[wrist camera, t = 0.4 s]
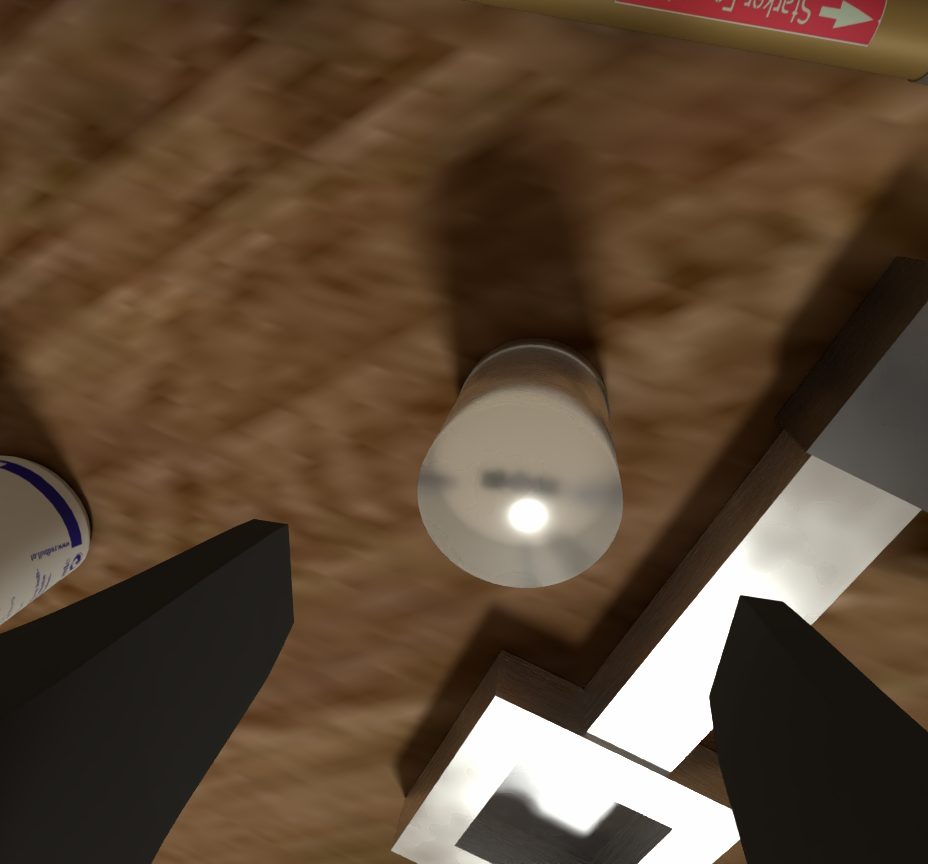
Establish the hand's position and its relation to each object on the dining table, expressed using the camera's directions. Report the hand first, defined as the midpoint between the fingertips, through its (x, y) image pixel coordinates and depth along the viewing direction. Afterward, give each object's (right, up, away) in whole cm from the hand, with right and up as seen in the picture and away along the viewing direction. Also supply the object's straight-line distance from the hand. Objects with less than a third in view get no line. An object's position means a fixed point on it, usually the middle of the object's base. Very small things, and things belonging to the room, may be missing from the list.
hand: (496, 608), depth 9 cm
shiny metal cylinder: (+2, +4, +9) cm, 9 cm away
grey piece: (+7, -5, +11) cm, 14 cm away
